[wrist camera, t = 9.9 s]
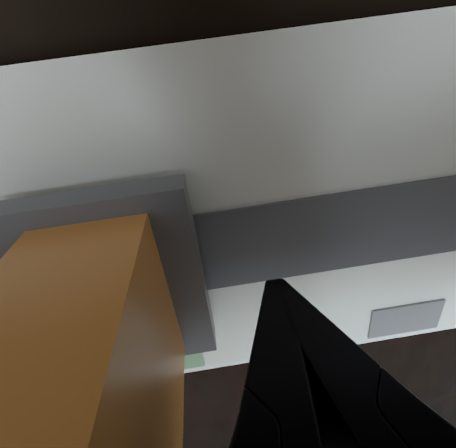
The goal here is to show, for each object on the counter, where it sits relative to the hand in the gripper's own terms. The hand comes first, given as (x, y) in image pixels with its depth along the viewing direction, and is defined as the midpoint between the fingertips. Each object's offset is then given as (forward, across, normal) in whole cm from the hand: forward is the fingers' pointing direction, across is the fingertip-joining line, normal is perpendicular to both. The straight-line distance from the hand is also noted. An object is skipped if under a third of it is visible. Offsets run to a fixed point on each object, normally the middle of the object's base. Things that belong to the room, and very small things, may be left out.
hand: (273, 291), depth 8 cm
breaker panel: (+4, 0, 0) cm, 4 cm away
